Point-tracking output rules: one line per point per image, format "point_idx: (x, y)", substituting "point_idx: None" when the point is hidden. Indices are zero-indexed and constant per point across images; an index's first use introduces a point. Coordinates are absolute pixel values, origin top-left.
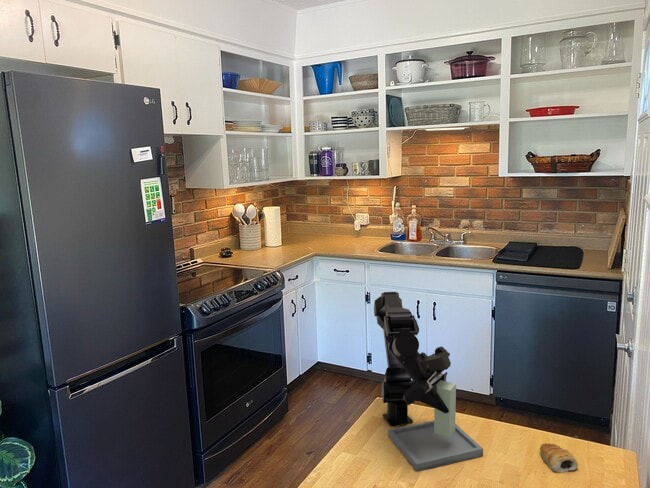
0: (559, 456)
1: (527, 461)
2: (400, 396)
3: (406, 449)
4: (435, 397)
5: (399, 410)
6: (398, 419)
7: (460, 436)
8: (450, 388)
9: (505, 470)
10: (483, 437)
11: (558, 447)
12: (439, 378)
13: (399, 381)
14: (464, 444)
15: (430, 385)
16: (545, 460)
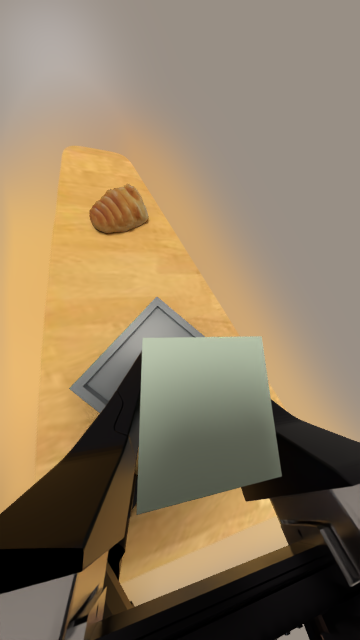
0: (134, 198)
1: (139, 248)
2: (123, 594)
3: None
4: (274, 405)
5: (127, 516)
6: (134, 489)
7: (126, 343)
8: (238, 347)
9: (173, 270)
10: (101, 312)
11: (108, 197)
12: (96, 558)
13: None
14: (148, 329)
15: None
16: (132, 225)
